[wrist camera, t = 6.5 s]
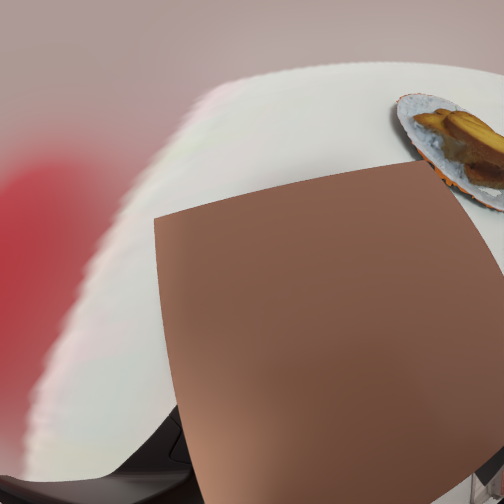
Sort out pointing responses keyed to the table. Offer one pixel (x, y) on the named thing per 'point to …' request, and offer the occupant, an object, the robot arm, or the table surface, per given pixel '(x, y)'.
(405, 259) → the clay bar
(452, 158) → the food on plate
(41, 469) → the table surface
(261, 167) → the table surface
